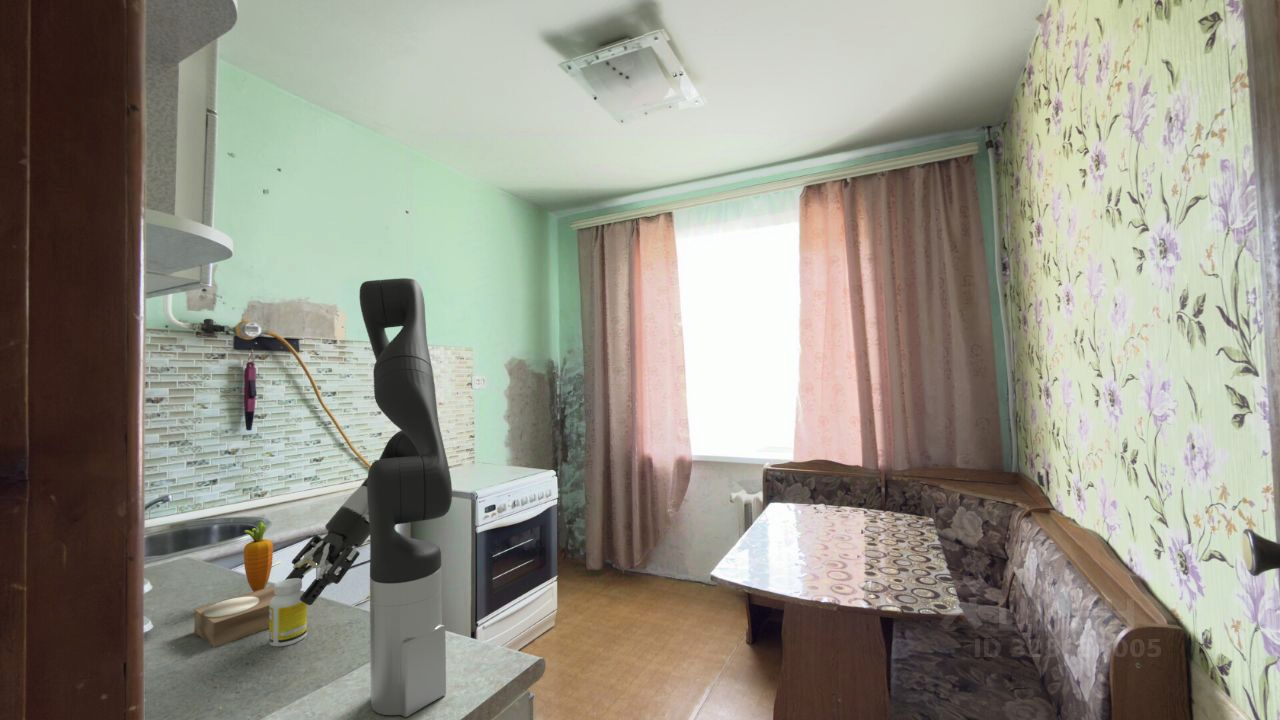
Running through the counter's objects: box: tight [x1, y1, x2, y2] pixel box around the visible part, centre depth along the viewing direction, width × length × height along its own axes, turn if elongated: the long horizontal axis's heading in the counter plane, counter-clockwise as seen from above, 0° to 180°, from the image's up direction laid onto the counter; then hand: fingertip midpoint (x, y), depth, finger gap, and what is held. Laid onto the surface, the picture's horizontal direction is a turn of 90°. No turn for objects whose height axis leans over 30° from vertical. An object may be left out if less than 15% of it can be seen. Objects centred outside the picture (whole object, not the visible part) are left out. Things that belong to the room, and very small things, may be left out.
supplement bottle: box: [268, 578, 308, 647], centre depth 90 cm, size 5×5×10 cm
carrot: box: [243, 521, 274, 592], centre depth 110 cm, size 5×5×15 cm
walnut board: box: [193, 585, 276, 648], centre depth 97 cm, size 10×14×4 cm
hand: (293, 597), depth 91 cm, fingers open, 8 cm apart
